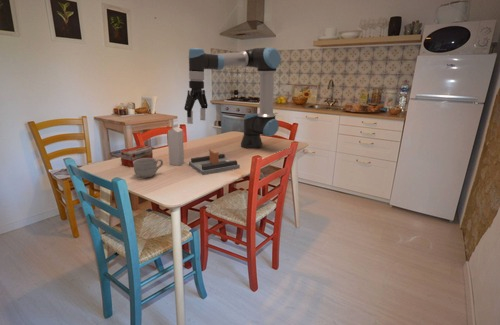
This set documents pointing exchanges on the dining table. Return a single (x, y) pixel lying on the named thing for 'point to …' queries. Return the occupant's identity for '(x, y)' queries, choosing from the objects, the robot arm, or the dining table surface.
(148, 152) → the medicine box
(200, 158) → the set of dark strips
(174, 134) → the milk
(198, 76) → the robot arm
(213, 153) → the orange rectangular block
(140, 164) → the teacup
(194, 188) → the dining table surface
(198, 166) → the panel
